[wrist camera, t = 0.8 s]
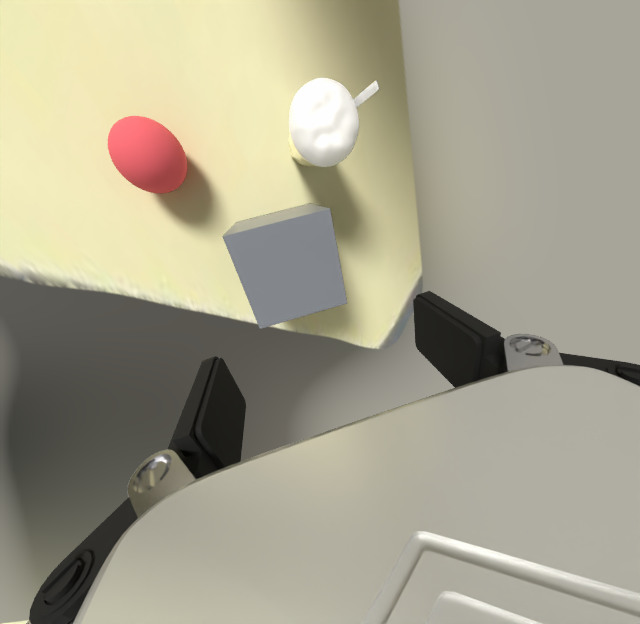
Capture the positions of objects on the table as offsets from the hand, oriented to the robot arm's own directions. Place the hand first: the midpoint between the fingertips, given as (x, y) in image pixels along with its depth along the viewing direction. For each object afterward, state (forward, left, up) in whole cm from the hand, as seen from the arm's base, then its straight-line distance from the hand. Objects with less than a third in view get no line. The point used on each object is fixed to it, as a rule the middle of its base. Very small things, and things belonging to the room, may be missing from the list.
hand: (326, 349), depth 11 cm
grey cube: (-1, 0, -18) cm, 18 cm away
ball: (-11, -8, -15) cm, 21 cm away
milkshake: (-10, +5, -18) cm, 21 cm away
